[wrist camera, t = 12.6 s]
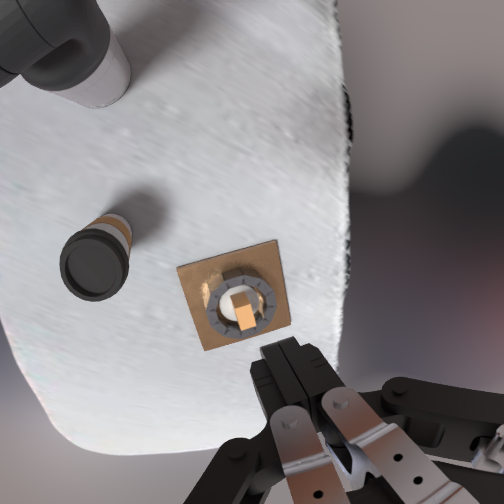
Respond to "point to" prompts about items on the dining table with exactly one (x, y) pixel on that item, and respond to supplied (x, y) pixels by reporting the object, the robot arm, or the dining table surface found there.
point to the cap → (240, 305)
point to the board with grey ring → (229, 276)
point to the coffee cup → (97, 258)
